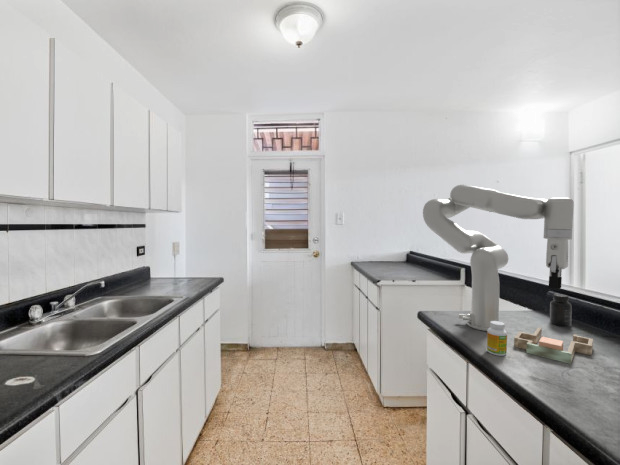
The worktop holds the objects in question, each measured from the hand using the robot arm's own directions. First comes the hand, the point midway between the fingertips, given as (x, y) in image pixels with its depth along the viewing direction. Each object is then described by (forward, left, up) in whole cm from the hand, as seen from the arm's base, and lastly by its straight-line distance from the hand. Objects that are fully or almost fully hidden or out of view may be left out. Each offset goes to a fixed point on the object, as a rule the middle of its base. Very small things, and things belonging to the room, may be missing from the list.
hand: (554, 288), depth 106 cm
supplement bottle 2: (+12, +24, -20) cm, 33 cm away
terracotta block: (-4, -10, -20) cm, 23 cm away
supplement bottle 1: (-20, -14, -20) cm, 31 cm away
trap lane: (-1, -4, -19) cm, 20 cm away
